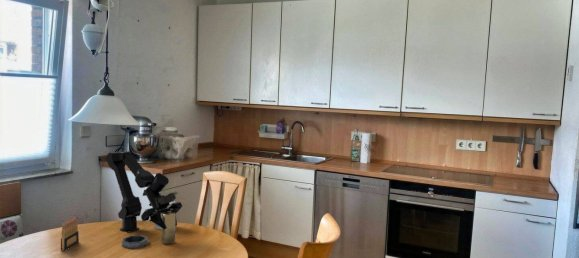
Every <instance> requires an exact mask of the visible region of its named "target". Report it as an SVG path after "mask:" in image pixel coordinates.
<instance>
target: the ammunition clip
mask: <svg viewBox="0 0 579 258" xmlns="http://www.w3.org/2000/svg"><path fill="white" fill-rule="evenodd" d="M61 224H62V225H61V238H60V251H61V250H66V249H67V250H69V249H71V248H72V247H74V246H75V245H77V244H78V243H79V241H80V240H79V239H80V238H79V236H80V235H79V230H78V229H79V227H78V219H77V216H76V215H75V216H74V217H73V216H72V217H70V218H69V219H67V220H65V221H63V222H62V223H61ZM73 245H74V246H73ZM71 246H72V247H71ZM70 247H71V248H70ZM68 248H69V249H68ZM67 250H66V251H67Z"/></svg>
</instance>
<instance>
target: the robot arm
mask: <svg viewBox="0 0 579 258" xmlns="http://www.w3.org/2000/svg"><path fill="white" fill-rule="evenodd" d="M105 161H106V163H107V166H108V167H109V168H110V169H111V170H112V171H113V172H114V175H115V179H116V181H117V185H118V188H119V190H120V194H121V197H122V201H121V204H120V206H121V209H120V210H119V211H118V213H117V215H118V219H122V220H121V221H122V224H121V225H122V227H120V228H119V231H122V232H127V233H131V232H134V231H137V230H139V229H140V227H138V220H137V217H140V218H141V221H142V222H152V223H153V224H154V223H155V224H157V225H159V226H160V227H161V228H163V229H166V226H165V224H164V222H163V220H162V218H161V213H164V212H175V227H177V226H178V222H177V213H178V212H179V211H180V210H181V209H182V208H183V204H182V202H180V201H177V202H176V201H175V200H176V198H177V197H176V194H175V193H174V192H170V193H168V195H162V194H161V193H162V192H163V190H164V189H165V188H166V187H167V185H168V184H169V183H170V180H169V178H168V177H167V176H166V175H164V174H162V173H161V172H158V173H155V174H154V173H151V172H150V171H149V170H146V169H144V168H143V167H142V165H141V164H140V163H139V161H138V160H137V159H136V158H135V157H134V156H133V153H132V152H131V151H114V152H108V153H107V155H106V156H105ZM126 167H127V168H128V169H129V171H130V172H131V173H132V174H133V176H134V182H135V184H136V185H137V187H139V189H144V188H145V189H144V190H143V193H142V197H146V198H147V200H148V203H149V204H148V206H149V207H151V208H146V209H145V210H144V211H143V212H142V209H143V208H142V202H141V200H140V197H139V196H135V194H134V192H133V190H132V187H131V184H130V183H131V182H130V180H129V177H128V173H127V171H126ZM154 175H155V176H154ZM170 202H175V203H173V204H172V205H171V206H170V207H167V206H169V204H170ZM141 212H142V214H141Z"/></svg>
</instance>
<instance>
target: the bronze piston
mask: <svg viewBox="0 0 579 258" xmlns="http://www.w3.org/2000/svg"><path fill="white" fill-rule="evenodd" d="M162 220H163V222H164V224H165V226H166V229H163V228H162V230H161V234H162V235H161V243H163V244H165V245H166V244H173V243H176V226H175V212H164V213H163V214H162Z"/></svg>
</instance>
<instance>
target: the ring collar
mask: <svg viewBox="0 0 579 258" xmlns="http://www.w3.org/2000/svg"><path fill="white" fill-rule="evenodd" d="M147 245H149V241H148V236H145V235H141V234H138V235H137V234H136V235H129V236H125V237H123V239H122V241H121V248H124V249H128V250H129V249H132V250H133V249H139V248H140V249H141V248H144V247H146V246H147Z"/></svg>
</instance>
